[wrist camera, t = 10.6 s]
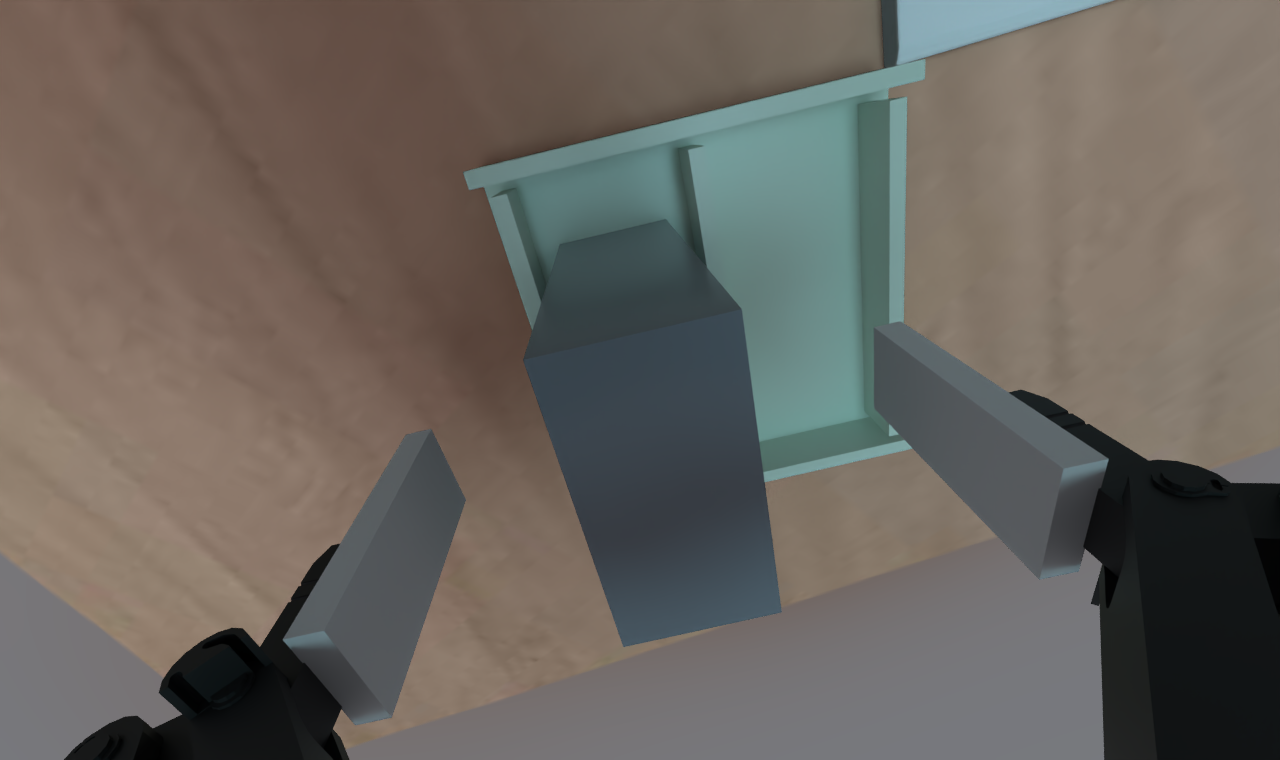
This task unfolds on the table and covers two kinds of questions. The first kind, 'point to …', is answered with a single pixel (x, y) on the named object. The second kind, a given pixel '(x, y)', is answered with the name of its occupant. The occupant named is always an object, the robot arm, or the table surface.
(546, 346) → the blue-grey rectangular block
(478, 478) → the table surface
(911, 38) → the external hard drive
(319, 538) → the table surface
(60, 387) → the table surface
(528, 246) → the green divided tray
